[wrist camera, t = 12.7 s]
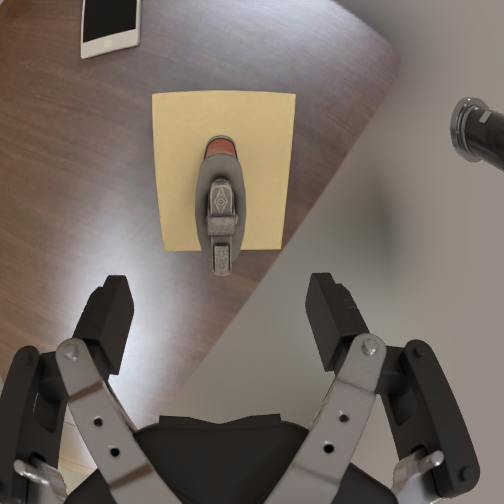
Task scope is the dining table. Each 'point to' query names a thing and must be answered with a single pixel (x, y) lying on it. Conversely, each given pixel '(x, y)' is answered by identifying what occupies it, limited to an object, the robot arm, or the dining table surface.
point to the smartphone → (109, 26)
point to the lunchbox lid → (249, 154)
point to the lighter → (220, 204)
